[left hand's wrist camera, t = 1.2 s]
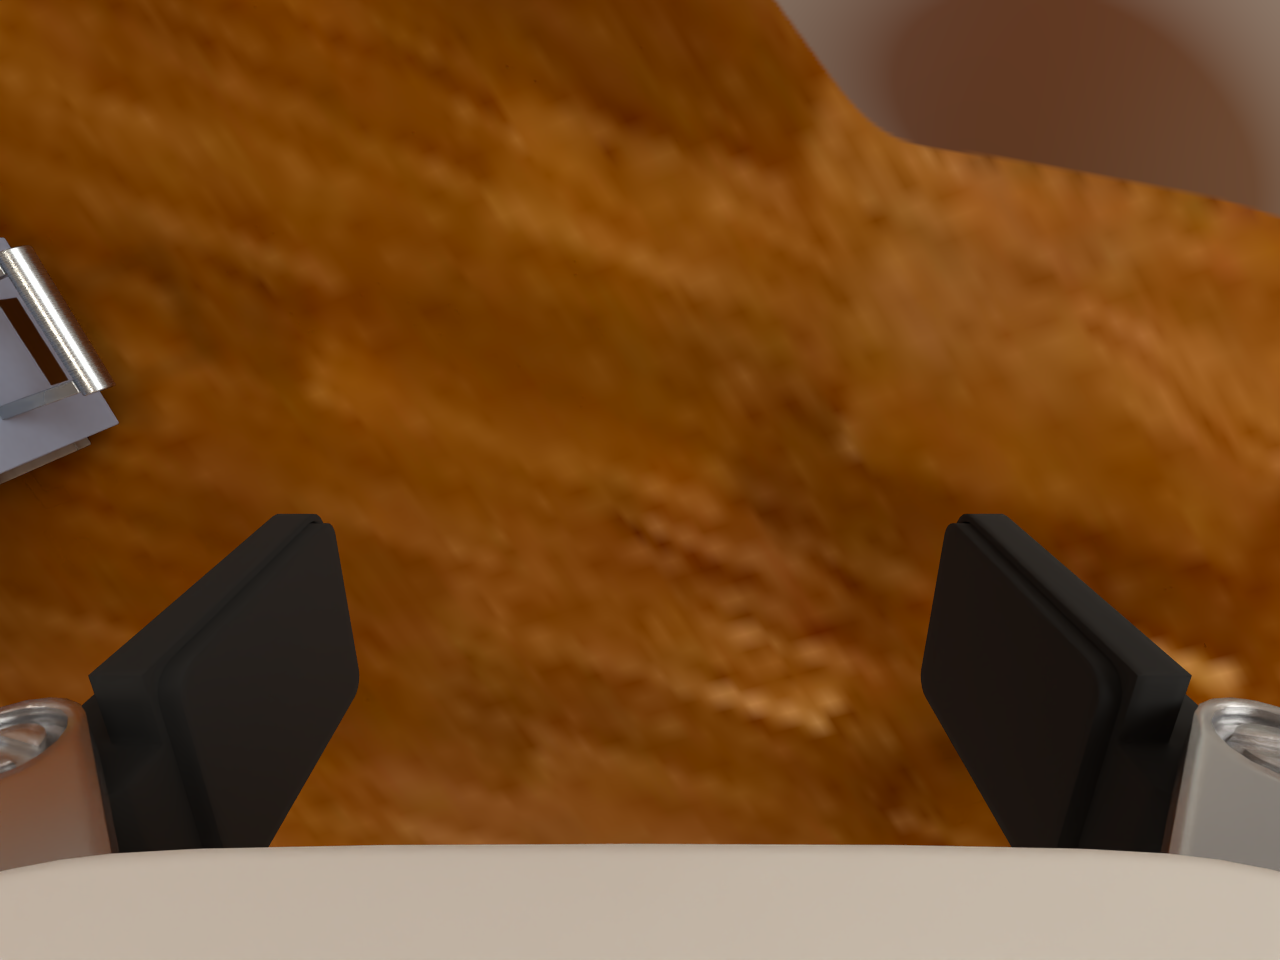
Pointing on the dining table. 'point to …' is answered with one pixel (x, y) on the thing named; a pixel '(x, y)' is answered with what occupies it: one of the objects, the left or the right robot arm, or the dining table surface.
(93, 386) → the drawer
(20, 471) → the cabinet
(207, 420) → the dining table surface
